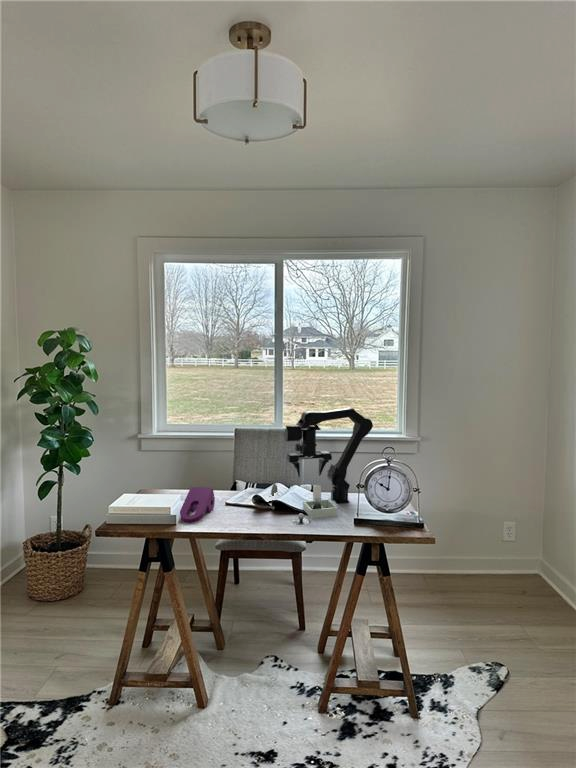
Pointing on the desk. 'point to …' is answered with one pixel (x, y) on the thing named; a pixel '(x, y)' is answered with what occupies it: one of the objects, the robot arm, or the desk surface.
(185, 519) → the mounting bracket
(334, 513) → the bin
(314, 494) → the strut
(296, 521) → the stud plate
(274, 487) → the pocket watch
